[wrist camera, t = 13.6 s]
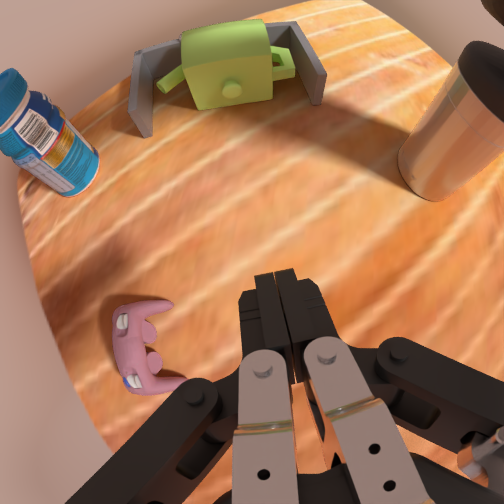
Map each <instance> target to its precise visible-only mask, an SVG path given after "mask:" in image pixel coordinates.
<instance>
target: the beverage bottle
mask: <svg viewBox="0 0 504 504" xmlns="http://www.w3.org/2000/svg"><path fill="white" fill-rule="evenodd" d="M0 150H1V151H2V152H3V154H4V155H6V156H11V157H12V160H13V162H14V163H15V164H16V165H17V166H19V167H20V168H23V169H25V170H27V171H28V172H29V173H31V174H32V175H34V176H35V177H37V178H38V179H40V180H41V181H42V182H44V183H45V184H47V185H48V186H50V187H51V188H53V189H54V190H56V191H57V192H58V193H59V194H61V195H62V196H65V197H72V196H76V195H78V194H80V193H82V192H83V191H84V190H86V189H87V188H88V187H89V186H90V184H91V183H92V182H93V180H94V179H95V177H96V175H97V172H98V169H99V165H100V158H99V154H98V152H97V150H96V149H95V148H94V147H93V146H92V145H90V144H89V143H88V142H87V141H86V140H85V139H84V137H83V136H82V135H81V134H80V133H79V132H78V131H77V130H76V129H75V128H74V126H73V125H72V124H71V123H70V122H69V121H68V120H67V118H66V117H65V115H64V112H63V111H62V110H61V109H60V108H59V107H58V106H56V105H52V102H51V99H50V98H49V97H48V96H47V95H45V94H43V93H40V92H36V91H28V85H27V82H26V81H25V80H24V78H23V77H22V76H21V75H20V74H19V72H18V71H16V70H15V69H13V68H10V69H7V70H5V71H4V72H3V73H1V74H0Z"/></svg>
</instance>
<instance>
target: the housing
mask: <svg viewBox="0 0 504 504" xmlns="http://www.w3.org/2000/svg"><path fill="white" fill-rule="evenodd" d="M265 27H266V30H267V34H268V38H269V42H270V46H275V47H281V48H286V49H289V51H290V54H291V57H292V60H293V62H294V65H295V67H296V69H297V71H298V73H299V76H300V78H301V80H302V82H303V84H304V87H305V89H306V91H307V94H308V96H309V98H310V100H311V103H312V105H321V101H322V97H323V92H324V87H325V83H326V78H327V73H326V71H325V69H324V68H323V66H322V64H321V62H320V60H319V59H318V57H317V55H316V53H315V52H314V50H313V48H312V46H311V45H310V43H309V41H308V40H307V38H306V37H305V35H304V33H303V32H302V30H301V29H300V27H299V25H298V24H297V22H296V21H292V22H276V23H265ZM181 37H182V34H181V35H180V36H179V39H176V40H172V41H169V42H165V43H161V44H158V45H155V46H152V47H148V48H145V49H142V50H139V51H137V52H135V54H134V61H133V68H132V75H131V83H130V92H129V102H128V114H129V115H130V117H131V118H132V120H133V122H134V123H135V125H136V126H137V128H138V129H139V131H140V132H141V134H142V136H143V137H144V138H147V137H151V136H152V107H153V79H156V78H159V77H163V76H166V75H167V74H169V73H170V72H171V71H173V70H174V69H175V68H177V67H178V66H180V65H181V64H182V60H181Z"/></svg>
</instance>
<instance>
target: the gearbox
mask: <svg viewBox="0 0 504 504" xmlns="http://www.w3.org/2000/svg"><path fill="white" fill-rule="evenodd" d="M181 60H182V64H181V65H180V66H178V67H177V68H175V69H174V70H173V71H171V72H170V73H169V74H167V75H166V76H165V77H163V78H162V79H161V80H160V81H158V82H157V83H156V85H157V87H158V88H159V89H160V91H161V92H163V93H164V94H166V93H167V92H169V91H170V90H171V89H172V88H174V87H175V86H176V85H178V84H179V83H180V82H182V81H183V80H184V79H186V81H187V84H188V86H189V89H190V92H191V94H192V97H193V99H194V102H195V104H196V107H197V109H198V110H206V109H212V108H218V107H225V106H231V105H238V104H244V103H251V102H258V101H265V100H270V99H273V81H276V80H281V79H287V78H293V77H295V65H294V62H293V60H292V57H291V54H290V51H289V49H286V48H281V47H275V46H270V42H269V38H268V34H267V30H266V27H265V24H264V22H263V20H262V19H252V20H241V21H233V22H225V23H219V24H214V25H209V26H204V27H199V28H195V29H191V30H187V31H184V32H182V37H181ZM272 62H277V63H279V64H280V66H275V67H273V65H272Z"/></svg>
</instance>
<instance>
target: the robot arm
mask: <svg viewBox="0 0 504 504" xmlns="http://www.w3.org/2000/svg"><path fill="white" fill-rule="evenodd" d="M481 2H482V4H483V6H484V8H485V9H486V10H487V11H488V12H489V13H490V14H491V15H492V16H493V17H494V18H495V19H496V20H497V21H498V22H499V23H501V24H502V25H503V26H504V0H481ZM503 152H504V50H503V49H501V48H499V47H496V46H494V45H491V44H489V43H486V42H483V41H472V42H470V43H469V44H468V45H467V46H466V47H465V48H464V50H463V52H462V54H461V55H460V57H459V59H458V60H457V62H456V64H455V65H454V67H453V69H452V70H451V72H450V74H449V75H448V77H447V79H446V80H445V82H444V84H443V85H442V87H441V88H440V90H439V91H438V93H437V95H436V96H435V98H434V99H433V101H432V102H431V104H430V105H429V107H428V109H427V110H426V112H425V113H424V115H423V116H422V118H421V119H420V121H419V122H418V124H417V125H416V127H415V128H414V129H413V131H412V132H411V134H410V135H409V137H408V138H407V140H406V141H405V143H404V144H403V145H402V147H401V148H400V150H399V153H398V167H399V170H400V173H401V175H402V177H403V179H404V180H405V182H406V183H407V185H408V186H409V187H410V188H411V189H412V190H413V191H414V192H415V193H416V194H418V195H419V196H421V197H423V198H424V199H427V200H430V201H442V200H444V199H446V198H448V197H449V196H450V195H451V194H453V193H454V192H455V191H457V190H458V189H459V188H460V187H462V186H463V185H464V184H466V183H467V182H468V181H469V180H471V179H472V178H473V177H474V176H475V175H477V174H478V173H479V172H480V171H482V170H483V169H484V168H485V167H486V166H488V165H489V164H490V163H491V162H492V161H493V160H495V159H496V158H497V157H498V156H499V155H500V154H502V153H503ZM274 275H275V279H274ZM274 275H273V272H271V273H266V274H261V275H255V276H254V278H255V284H256V289H253V290H248V291H243V293H242V295H241V297H240V299H239V301H238V304H239V317H240V329H241V341H242V352H243V357H242V361H241V364H240V365H239V367H238V368H237V369H236V371H234V372H233V373H232V374H231V375H229V376H227V377H225V378H223V379H220V380H218V381H216V382H213V383H212V382H210V381H209V380H207V379H204V378H192V379H189V380H186V381H184V382H183V383H181V384H180V385H179V386H178V387H177V388H176V389H175V390H174V391H173V393H172V394H171V395H170V396H169V397H168V398H167V399H166V400H165V401H164V402H163V403H162V405H161V406H160V407H159V408H158V409H157V410H156V411H155V412H154V413H153V414H152V415H151V416H150V417H149V418H148V420H147V421H146V422H145V423H144V424H143V425H142V426H141V427H140V428H139V429H138V430H137V431H136V432H135V433H134V434H133V435H132V436H131V437H130V439H129V440H128V441H127V442H126V443H125V444H124V445H123V446H122V447H121V448H120V449H119V450H118V451H117V452H116V453H115V454H114V455H113V456H112V457H111V458H110V459H109V460H108V461H107V462H106V463H105V464H104V465H103V466H102V467H101V468H100V469H99V470H98V471H97V472H96V473H95V474H94V475H93V476H92V477H91V478H90V479H89V480H88V481H87V482H86V483H85V484H84V485H83V486H82V487H81V488H80V489H79V490H78V491H77V492H76V493H75V494H74V495H73V496H72V497H71V498H70V499H69V500H68V501H67V502H66V503H65V504H182V503H183V502H184V501H185V500H186V498H187V497H188V496H189V495H190V494H191V493H192V492H193V491H194V489H195V488H196V487H197V486H198V485H199V484H200V483H201V481H202V480H203V479H204V478H205V477H206V475H207V474H208V473H209V472H210V471H211V469H212V468H213V467H214V466H215V465H216V463H217V462H218V461H219V460H220V458H221V457H222V456H223V455H224V453H225V452H226V451H227V450H228V448H229V447H230V446H231V444H232V443H233V456H232V489H231V490H230V491H228V492H226V493H225V494H223V495H222V496H221V497H219V498H218V499H217V500H216V501H215V502H214V503H213V504H504V382H502V381H500V380H498V379H495V378H493V377H491V376H489V375H486V374H484V373H482V372H480V371H477V370H475V369H473V368H471V367H468V366H466V365H464V364H462V363H459V362H457V361H455V360H453V359H451V358H448V357H446V356H444V355H442V354H440V353H437V352H435V351H433V350H431V349H429V348H426V347H424V346H422V345H420V344H418V343H415V342H413V341H411V340H409V339H406V338H403V337H393V338H389V339H387V340H385V341H384V342H382V343H381V345H380V346H379V348H356V347H352V346H350V345H348V344H346V343H345V342H343V341H342V340H341V339H340V337H339V336H338V334H337V331H336V329H335V326H334V324H333V321H332V319H331V316H330V314H329V311H328V309H327V307H326V305H325V302H324V299H323V297H322V295H321V292H320V290H319V287H318V285H316V284H315V283H314V282H313V281H312V280H310V279H309V278H308V279H303V280H298V281H297V278H296V275H295V272H294V269H293V268H291V269H286V270H281V271H276V272H274ZM275 281H276V283H275ZM293 368H294V369H293ZM294 372H295V376H296V381H297V383H301V382H304V386H305V390H306V400H307V403H308V406H309V409H310V412H311V415H312V418H313V421H314V424H315V427H316V430H317V433H318V436H319V439H320V442H321V446H322V451H323V456H324V460H325V464H326V467H327V471H325V472H323V473H320V474H299V467H298V458H297V449H296V439H295V429H294V420H293V410H292V403H293V395H292V388H291V385H292V384H295V377H294ZM396 424H397V425H399V426H401V427H403V428H405V429H407V430H409V431H410V432H412V433H414V434H416V435H418V436H420V437H422V438H424V439H426V440H428V441H430V442H433V443H435V444H437V445H439V446H441V447H443V448H445V449H447V450H449V451H452V452H454V453H456V454H458V456H457V463H458V468H459V469H460V470H461V471H462V472H463V473H465V474H466V475H467V476H468V477H469V478H470V479H471V480H469V479H467V478H465V477H463V476H461V475H459V474H457V473H455V472H453V471H451V470H449V469H447V468H445V467H443V466H441V465H439V464H437V463H435V462H433V461H431V460H429V459H428V458H426V457H424V456H421V455H419V454H416V453H412V452H408V449H407V447H406V445H405V443H404V441H403V439H402V437H401V434H400V432H399V430H398V428H397V426H396Z"/></svg>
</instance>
